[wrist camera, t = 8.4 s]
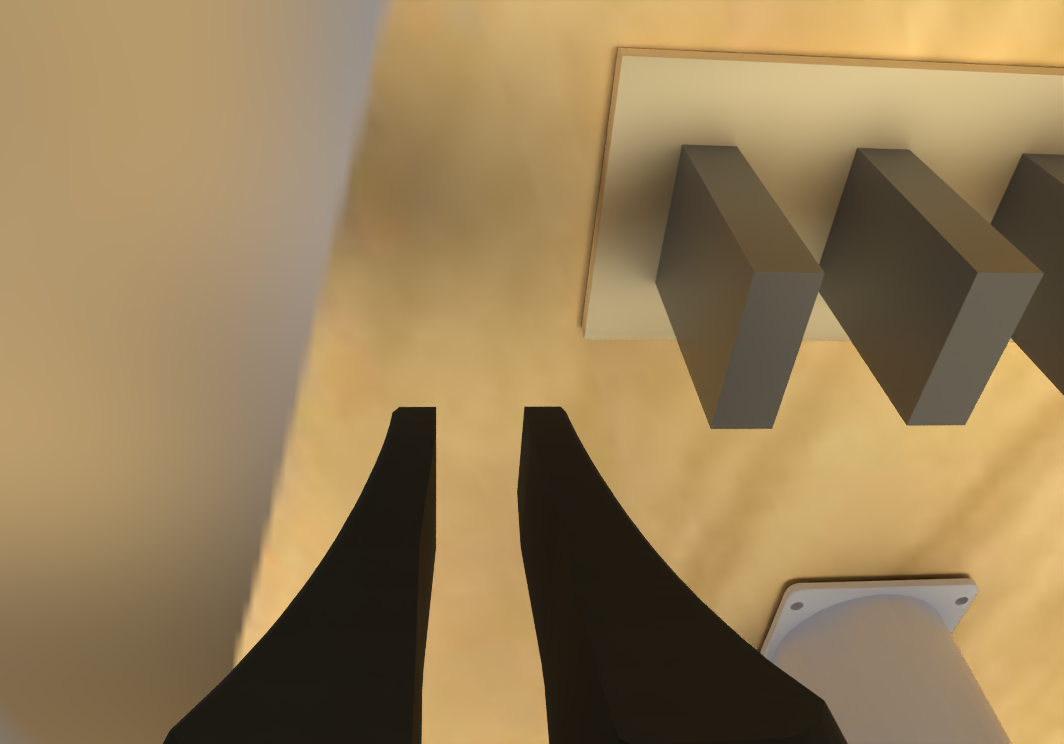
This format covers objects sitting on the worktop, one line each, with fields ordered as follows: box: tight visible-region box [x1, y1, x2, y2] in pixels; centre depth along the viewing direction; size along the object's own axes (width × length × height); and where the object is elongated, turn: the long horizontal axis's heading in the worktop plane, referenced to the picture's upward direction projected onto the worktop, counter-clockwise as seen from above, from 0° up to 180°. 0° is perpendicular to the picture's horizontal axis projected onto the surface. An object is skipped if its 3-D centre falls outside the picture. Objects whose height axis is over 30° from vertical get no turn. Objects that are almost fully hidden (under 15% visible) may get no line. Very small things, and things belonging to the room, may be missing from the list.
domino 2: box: [819, 148, 1044, 425], centre depth 20 cm, size 4×1×6 cm, turn 176°
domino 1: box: [655, 144, 825, 429], centre depth 19 cm, size 4×1×6 cm, turn 175°
